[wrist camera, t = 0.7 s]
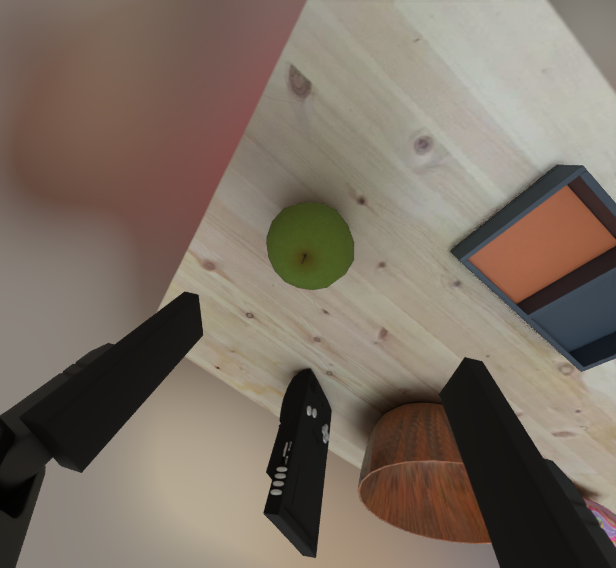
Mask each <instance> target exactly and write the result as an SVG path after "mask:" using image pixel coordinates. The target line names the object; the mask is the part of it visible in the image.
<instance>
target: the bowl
mask: <svg viewBox="0 0 616 568" xmlns="http://www.w3.org/2000/svg"><path fill="white" fill-rule="evenodd" d="M358 493H359V497H360V501H361V502H362V503H363V504H364V506H365V507H366V508H367V510H368V511H370V512H371V513H372V514H374V515H375V516H376V517H378V518H379V519H381V520H382V521H384V522H386V523H388V524H390V525H392V526H394V527H396V528H399V529H401V530H404V531H407V532H409V533H412V534H416V535H420V536H424V537H427V538H431V539H436V540H442V541H448V542H456V543H469V544H490V543H491V540H490V537H489V534H488V532H487V529H486V526H485V523H484V520H483V517H482V515H481V512H480V509H479V506H478V503H477V500H476V498H475V495H474V492H473V489H472V486H471V483H470V481H469V478H468V475H467V472H466V469H465V466H464V464H463V461H462V458H461V455H460V452H459V449H458V447H457V444H456V441H455V438H454V435H453V432H452V430H451V427H450V424H449V421H448V418H447V415H446V413H445V410H444V407H443V405H440V404H434V403H412V404H405V405H402V406H399V407H396V408H394V409H392V410H390V411H389V412H387V413H386V414H384V415H383V416H382V417H381V419H380V420H379V421H378V422H377V423H376V425H375V426H374V428H373V430H372V433H371V435H370V438H369V441H368V444H367V448H366V451H365V455H364V459H363V463H362V468H361V473H360V479H359V485H358Z"/></svg>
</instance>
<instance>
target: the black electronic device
mask: <svg viewBox="0 0 616 568" xmlns="http://www.w3.org/2000/svg"><path fill="white" fill-rule="evenodd" d="M331 412H332V411H331V408H330V406H329V403H328V401H327V398H326V397H325V395H324V393H323V391H322V389H321V387H320V385H319V383H318V381H317V379H316V377H315V376H314V374H313V373H312V371H311V370H305V371H302V372H299V373H298V374H297V375H295V376H294V377H293V379H292V381H291V382H290V384H289V386H288V388H287V391H286V393H285V396H284V398H283V403H282V407H281V413H280V422H281V424H280V425H279V430H278V434H277V437H276V440H275V444H274V447H273V450H272V454H271V457H270V460H269V464H268V467H267V471H266V473H267V474H268V475H269V477H270V478H271V479H272V483H271V487H270V491H269V494H268V498H267V501H266V505H265V509H264V515H265V516H266V517H267V518H268V519H269V520H270V521H271V522H272V523H273V524H274V525H275V526H276V527H277V528H278V529H279V530H280V531H281V533H282V534H283V535H284V536H285V537H286V538H287V539H288V540H289V541H290V542H291V543H292V544H293V545H294V546H295V547H296V549H297V550H298V551H299V552H300V553H301V554H302V555H303V556H308V557H314V558H316V552H317V544H318V534H319V524H320V515H321V506H322V497H323V488H324V478H325V469H326V460H327V452H328V443H329V433H330V422H331Z"/></svg>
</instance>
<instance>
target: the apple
mask: <svg viewBox="0 0 616 568" xmlns="http://www.w3.org/2000/svg"><path fill="white" fill-rule="evenodd" d="M266 244H267V251H268V257H269V260H270V262H271V264H272V266H273V268H274V270H275V272H276V273H277V274H278V275H279V276H280V277H281V278H282V279H283V280H284V281H285V282H286V283H289V284H291V285H293V286H295V287H297V288H302V289H309V290H316V289H322V288H327V287H328V286H330V285H331V284H332V283H334V282H335V281H336V280H338V279H339V278H341V277H342V276H343V275H345V274H346V272H347V270H348V269H349V267H350V266H351V264H352V262H353V261H354V241H353V238H352V235H351V232H350V230H349V227H348V225H347V223H346V222H345V221H344V219H343V218H342V217H341V215H340V214H339V213H338V212H337V210H336V209H334V208H331V207H329V206H327V205H325V204H323V203H310V202H305V203H299V204H296V205H293V206H290V207H287V208H284V209H283V210H282V211H281V212H280V213H279V214H278V216H277V217H276V218H275V219H274V220H273V221H272V224H271V226H270V229H269V232H268V235H267V242H266Z"/></svg>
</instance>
